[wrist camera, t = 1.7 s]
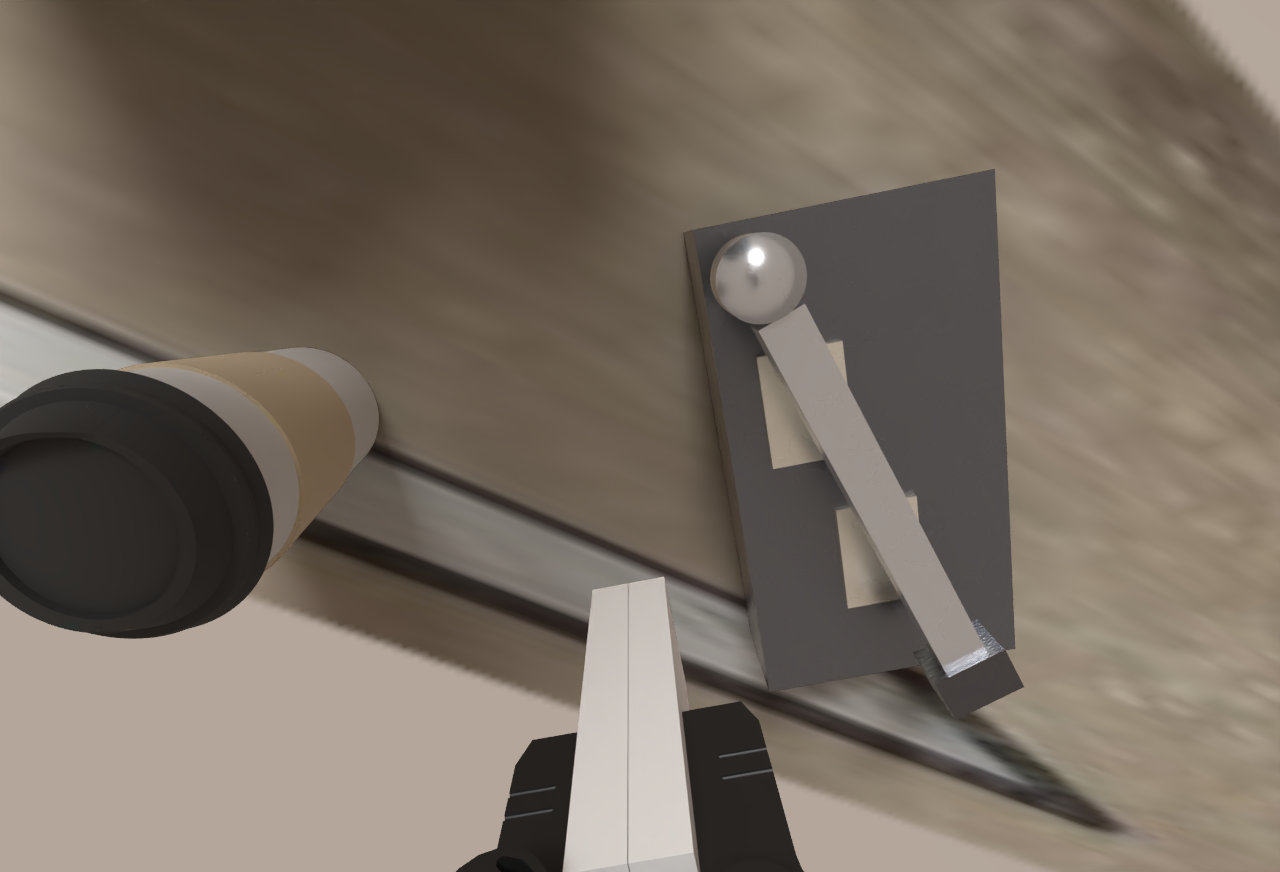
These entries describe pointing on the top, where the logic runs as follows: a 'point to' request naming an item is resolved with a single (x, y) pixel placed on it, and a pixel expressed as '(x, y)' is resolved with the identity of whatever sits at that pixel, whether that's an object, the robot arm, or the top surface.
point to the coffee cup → (170, 483)
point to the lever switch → (895, 411)
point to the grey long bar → (860, 467)
